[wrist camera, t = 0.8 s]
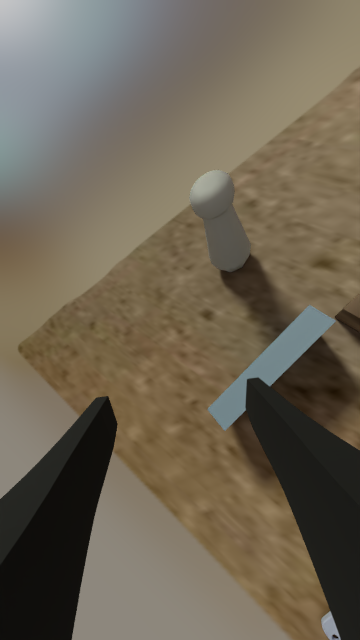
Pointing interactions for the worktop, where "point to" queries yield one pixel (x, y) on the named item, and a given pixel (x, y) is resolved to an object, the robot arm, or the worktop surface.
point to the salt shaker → (220, 220)
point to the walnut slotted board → (351, 314)
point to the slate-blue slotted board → (271, 363)
